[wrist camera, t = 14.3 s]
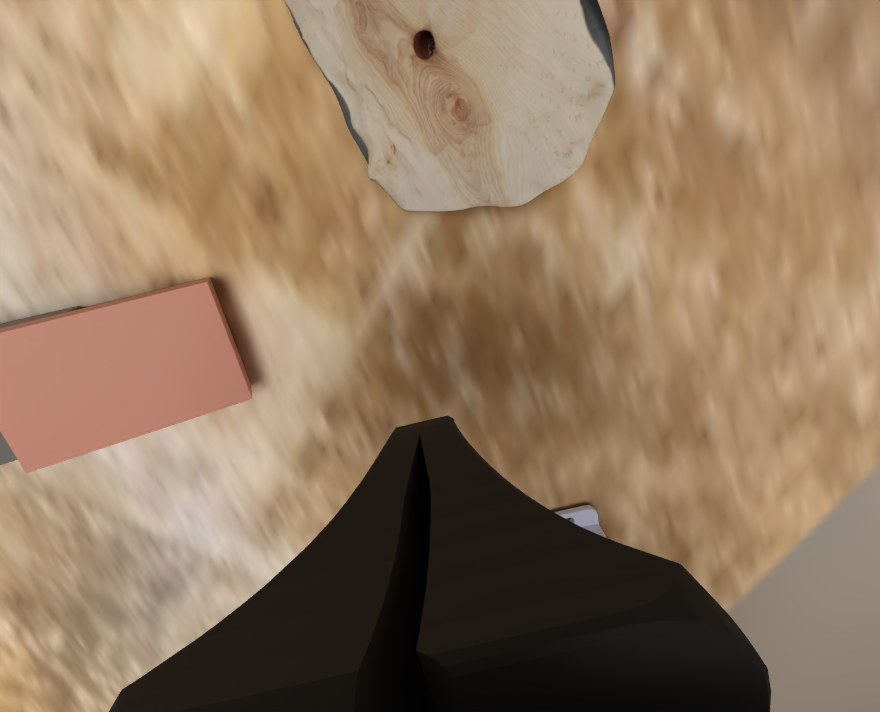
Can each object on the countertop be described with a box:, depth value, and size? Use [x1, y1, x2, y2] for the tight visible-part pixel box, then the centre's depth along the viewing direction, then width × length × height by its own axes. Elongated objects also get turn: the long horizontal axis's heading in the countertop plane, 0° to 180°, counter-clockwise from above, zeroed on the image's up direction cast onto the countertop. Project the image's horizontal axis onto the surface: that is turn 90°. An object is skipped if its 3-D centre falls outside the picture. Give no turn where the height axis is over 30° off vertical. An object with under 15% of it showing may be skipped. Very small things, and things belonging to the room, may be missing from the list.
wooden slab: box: [285, 0, 615, 211], centre depth 15 cm, size 11×4×12 cm
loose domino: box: [0, 277, 252, 473], centre depth 18 cm, size 2×5×8 cm
